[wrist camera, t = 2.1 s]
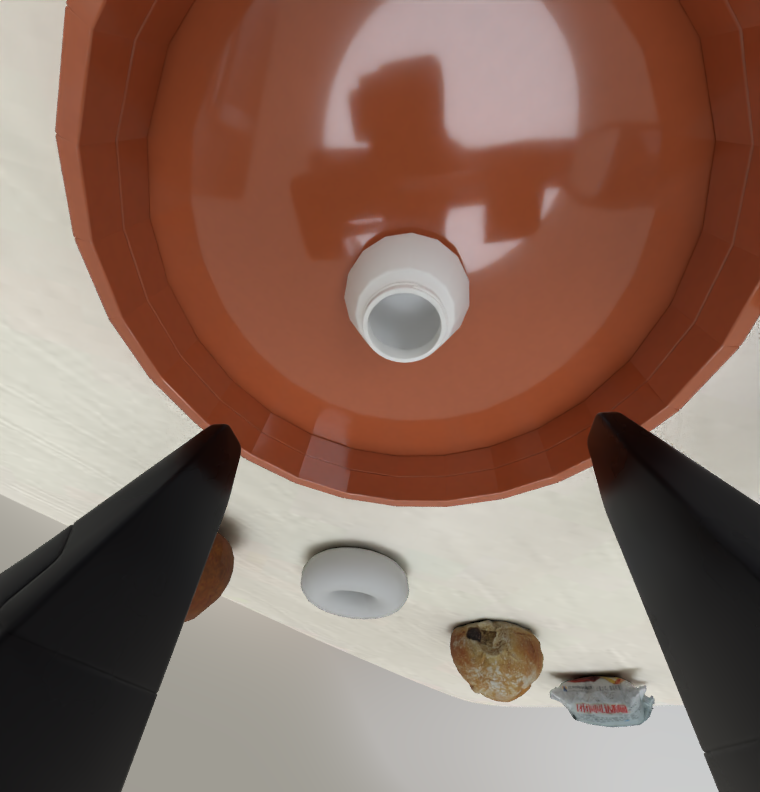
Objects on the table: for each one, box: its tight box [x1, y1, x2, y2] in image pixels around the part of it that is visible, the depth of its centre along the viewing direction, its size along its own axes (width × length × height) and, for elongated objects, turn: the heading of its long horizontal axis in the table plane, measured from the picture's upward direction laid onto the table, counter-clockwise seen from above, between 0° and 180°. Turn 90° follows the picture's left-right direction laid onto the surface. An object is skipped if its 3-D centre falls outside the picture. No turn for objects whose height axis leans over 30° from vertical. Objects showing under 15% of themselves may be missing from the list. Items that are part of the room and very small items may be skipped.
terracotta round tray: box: [55, 0, 760, 507], centre depth 14 cm, size 22×22×4 cm
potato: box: [184, 533, 234, 622], centre depth 29 cm, size 8×11×8 cm
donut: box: [301, 547, 409, 619], centre depth 32 cm, size 10×4×10 cm
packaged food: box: [550, 676, 654, 727], centre depth 48 cm, size 9×12×5 cm
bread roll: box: [450, 620, 544, 702], centre depth 40 cm, size 10×10×8 cm
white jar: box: [344, 233, 469, 363], centre depth 14 cm, size 5×3×5 cm
